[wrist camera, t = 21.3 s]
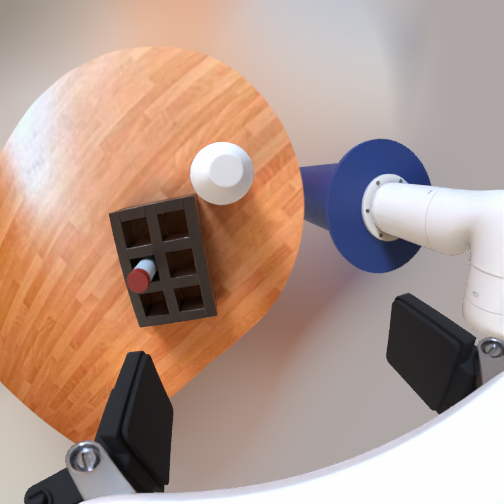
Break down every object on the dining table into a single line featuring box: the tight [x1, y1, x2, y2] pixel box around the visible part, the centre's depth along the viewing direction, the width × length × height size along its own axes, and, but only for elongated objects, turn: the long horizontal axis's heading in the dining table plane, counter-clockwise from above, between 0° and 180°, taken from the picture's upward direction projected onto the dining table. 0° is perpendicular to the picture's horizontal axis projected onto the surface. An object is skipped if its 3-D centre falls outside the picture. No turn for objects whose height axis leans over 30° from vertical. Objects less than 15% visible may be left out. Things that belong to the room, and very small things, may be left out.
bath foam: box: [190, 142, 254, 205], centre depth 31 cm, size 7×7×20 cm
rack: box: [109, 194, 217, 327], centre depth 40 cm, size 12×18×5 cm
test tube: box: [127, 255, 158, 293], centre depth 37 cm, size 3×3×10 cm
